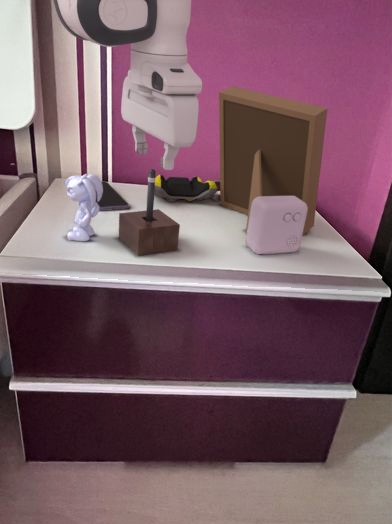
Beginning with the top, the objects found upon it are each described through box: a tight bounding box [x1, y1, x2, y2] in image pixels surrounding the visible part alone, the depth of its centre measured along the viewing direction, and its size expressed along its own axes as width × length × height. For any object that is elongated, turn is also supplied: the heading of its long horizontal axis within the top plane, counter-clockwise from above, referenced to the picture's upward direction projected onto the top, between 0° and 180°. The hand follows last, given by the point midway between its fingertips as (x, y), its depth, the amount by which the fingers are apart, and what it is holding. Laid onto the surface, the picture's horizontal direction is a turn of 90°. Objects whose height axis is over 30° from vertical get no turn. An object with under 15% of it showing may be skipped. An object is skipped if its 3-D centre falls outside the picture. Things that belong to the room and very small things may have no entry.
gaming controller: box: [154, 174, 218, 202], centre depth 127 cm, size 15×6×10 cm
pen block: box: [118, 208, 181, 257], centre depth 103 cm, size 8×8×5 cm
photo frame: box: [218, 85, 328, 236], centre depth 114 cm, size 15×22×25 cm
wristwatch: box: [210, 180, 220, 202], centre depth 132 cm, size 4×6×5 cm
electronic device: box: [245, 196, 308, 255], centre depth 106 cm, size 10×5×10 cm, turn 111°
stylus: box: [145, 168, 157, 222], centre depth 101 cm, size 1×1×14 cm
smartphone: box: [95, 180, 129, 211], centre depth 123 cm, size 7×1×15 cm
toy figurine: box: [64, 173, 103, 242], centre depth 101 cm, size 7×6×12 cm
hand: (153, 160), depth 96 cm, fingers open, 8 cm apart
